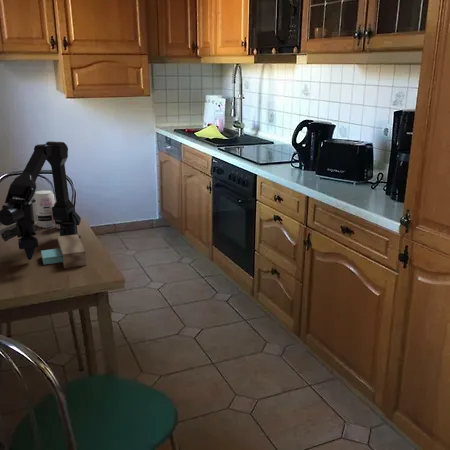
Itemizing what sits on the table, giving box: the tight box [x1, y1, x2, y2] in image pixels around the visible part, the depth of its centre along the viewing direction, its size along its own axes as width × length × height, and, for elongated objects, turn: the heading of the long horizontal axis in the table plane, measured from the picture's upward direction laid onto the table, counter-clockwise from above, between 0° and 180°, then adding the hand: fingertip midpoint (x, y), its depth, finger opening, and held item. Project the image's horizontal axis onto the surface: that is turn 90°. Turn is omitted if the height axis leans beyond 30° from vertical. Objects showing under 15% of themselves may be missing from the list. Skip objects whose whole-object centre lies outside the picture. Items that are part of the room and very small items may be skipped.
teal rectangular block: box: [40, 248, 63, 265], centre depth 188 cm, size 12×8×2 cm, turn 113°
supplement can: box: [33, 189, 56, 229], centre depth 224 cm, size 8×8×15 cm
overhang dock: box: [56, 233, 87, 269], centre depth 189 cm, size 8×20×5 cm, turn 22°
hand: (29, 259), depth 184 cm, fingers closed
